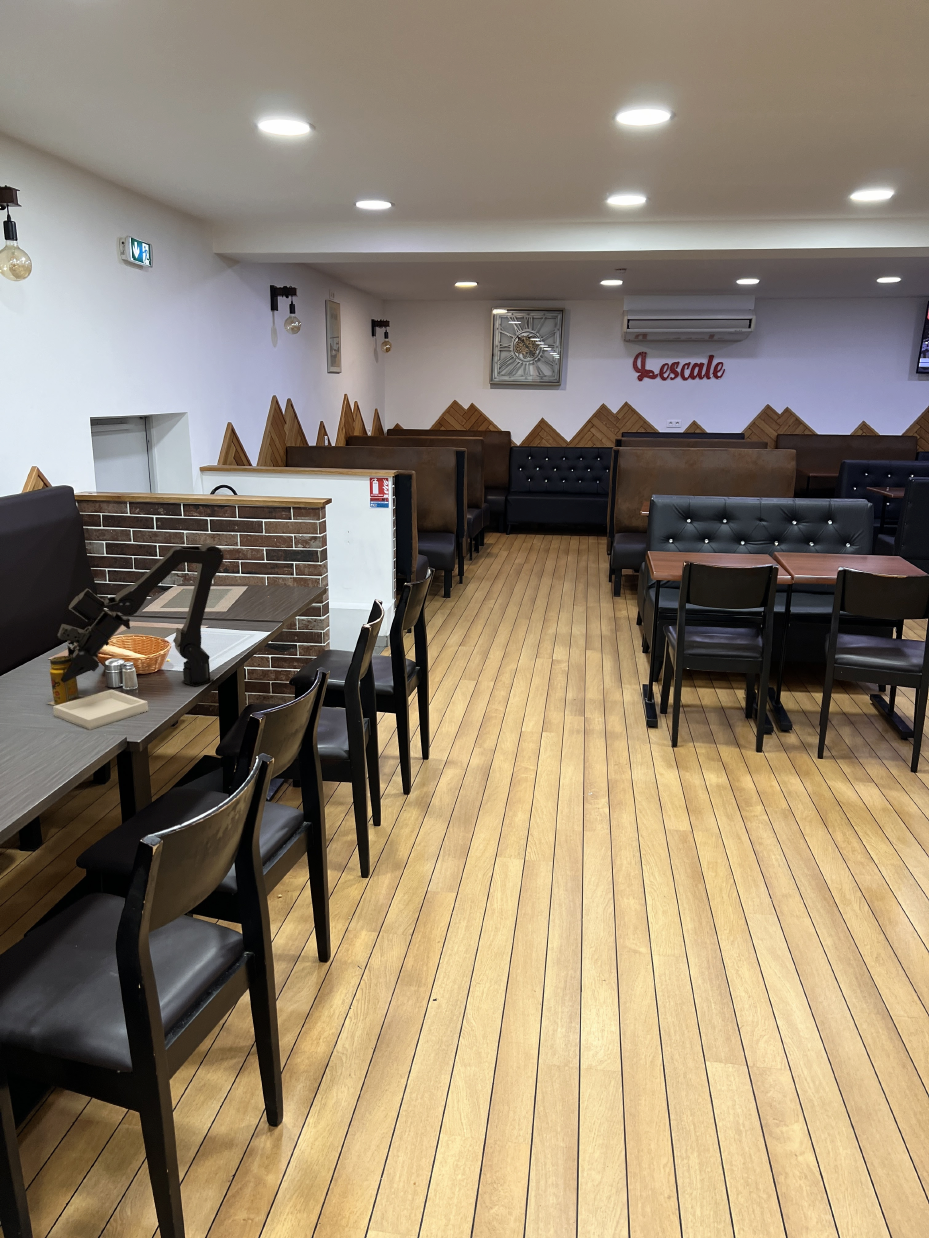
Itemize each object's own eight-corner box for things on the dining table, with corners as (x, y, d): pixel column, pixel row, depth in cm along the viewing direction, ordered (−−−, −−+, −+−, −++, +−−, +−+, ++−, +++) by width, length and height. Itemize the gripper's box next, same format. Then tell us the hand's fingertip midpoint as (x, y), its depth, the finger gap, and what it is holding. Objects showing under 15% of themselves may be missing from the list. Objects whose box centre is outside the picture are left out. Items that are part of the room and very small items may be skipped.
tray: (112, 698, 226) (111, 689, 226) (148, 710, 217) (147, 701, 216) (54, 715, 214) (53, 706, 213) (89, 729, 204) (88, 720, 204)
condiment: (46, 704, 222) (40, 660, 219) (73, 694, 229) (68, 651, 226) (66, 708, 219) (60, 663, 216) (92, 697, 226) (87, 654, 223)
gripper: (72, 606, 228) (31, 651, 225) (79, 621, 212) (36, 670, 210) (106, 630, 233) (67, 675, 231) (116, 647, 218) (74, 695, 215)
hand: (60, 678), depth 222 cm, fingers closed on condiment, 6 cm apart
